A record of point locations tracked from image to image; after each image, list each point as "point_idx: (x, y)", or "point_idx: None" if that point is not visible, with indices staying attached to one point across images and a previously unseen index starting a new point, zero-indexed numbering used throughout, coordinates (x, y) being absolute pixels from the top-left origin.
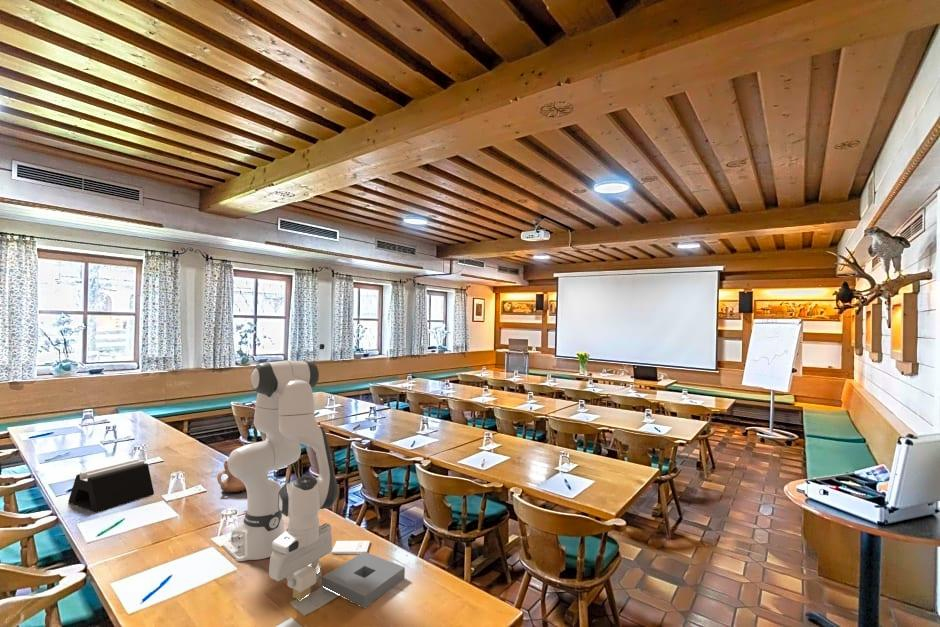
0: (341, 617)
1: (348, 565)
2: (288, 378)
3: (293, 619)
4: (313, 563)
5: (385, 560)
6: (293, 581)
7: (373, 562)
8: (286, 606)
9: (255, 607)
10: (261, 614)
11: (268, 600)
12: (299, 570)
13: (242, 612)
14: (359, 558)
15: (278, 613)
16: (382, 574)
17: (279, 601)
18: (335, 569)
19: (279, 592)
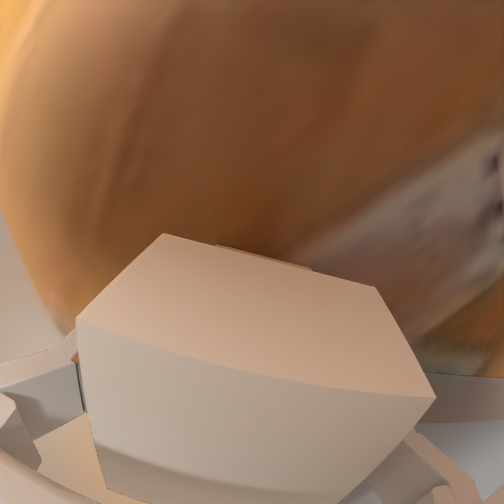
0: None
1: (496, 442)
2: None
3: None
4: (416, 487)
5: (492, 492)
6: (77, 409)
7: (491, 481)
8: (119, 269)
9: (44, 83)
10: (18, 176)
11: (119, 92)
12: (217, 452)
13: (5, 64)
14: None
15: (59, 265)
16: None
17: (137, 180)
18: (472, 426)
19: (234, 89)
